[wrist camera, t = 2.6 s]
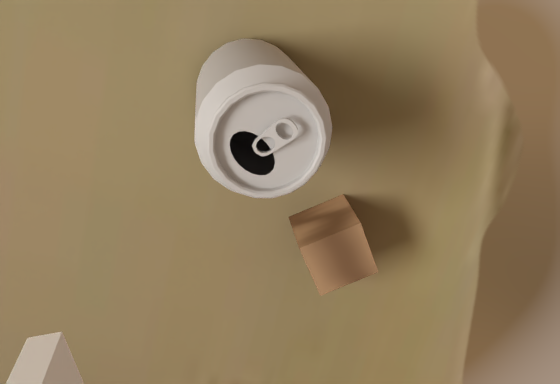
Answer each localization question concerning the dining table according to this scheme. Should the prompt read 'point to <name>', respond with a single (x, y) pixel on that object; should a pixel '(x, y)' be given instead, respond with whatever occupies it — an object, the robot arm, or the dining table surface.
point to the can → (259, 120)
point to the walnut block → (333, 244)
